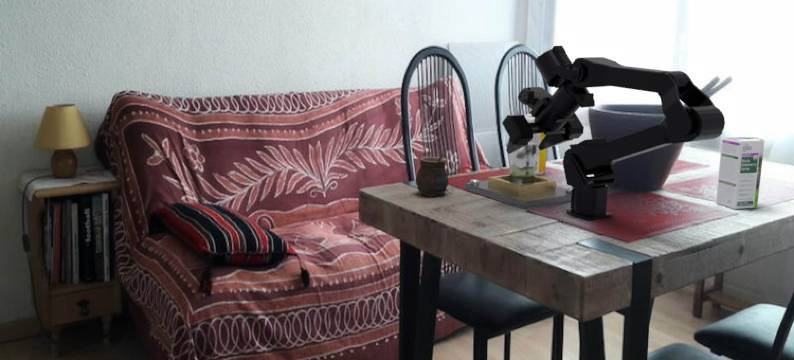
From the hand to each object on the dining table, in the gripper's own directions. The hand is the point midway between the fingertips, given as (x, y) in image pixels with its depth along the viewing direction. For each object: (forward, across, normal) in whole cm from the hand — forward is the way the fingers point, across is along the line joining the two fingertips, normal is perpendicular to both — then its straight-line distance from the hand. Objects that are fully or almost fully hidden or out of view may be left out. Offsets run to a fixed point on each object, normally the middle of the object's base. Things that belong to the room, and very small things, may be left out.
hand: (523, 150), depth 151 cm
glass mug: (+7, 0, +5) cm, 9 cm away
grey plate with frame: (+7, 0, +7) cm, 10 cm away
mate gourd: (+14, +17, 0) cm, 22 cm away
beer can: (+19, -18, -4) cm, 26 cm away
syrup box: (-14, -33, +28) cm, 46 cm away
